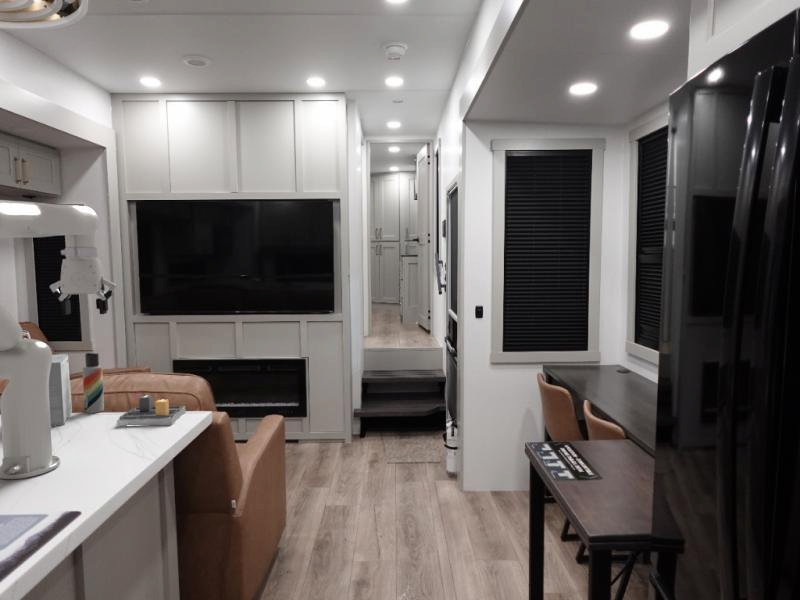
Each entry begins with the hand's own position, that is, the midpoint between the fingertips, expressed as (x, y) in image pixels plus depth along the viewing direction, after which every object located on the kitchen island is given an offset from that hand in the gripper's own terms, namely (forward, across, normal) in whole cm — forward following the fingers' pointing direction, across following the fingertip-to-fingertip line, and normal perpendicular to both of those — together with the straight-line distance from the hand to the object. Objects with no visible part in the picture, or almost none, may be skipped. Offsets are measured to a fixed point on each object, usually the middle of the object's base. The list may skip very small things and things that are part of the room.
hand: (85, 314), depth 148 cm
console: (+35, +13, +13) cm, 40 cm away
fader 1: (+33, +10, +16) cm, 38 cm away
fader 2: (+33, +17, +10) cm, 38 cm away
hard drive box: (+36, -18, +16) cm, 43 cm away
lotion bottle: (+36, -10, +25) cm, 45 cm away
